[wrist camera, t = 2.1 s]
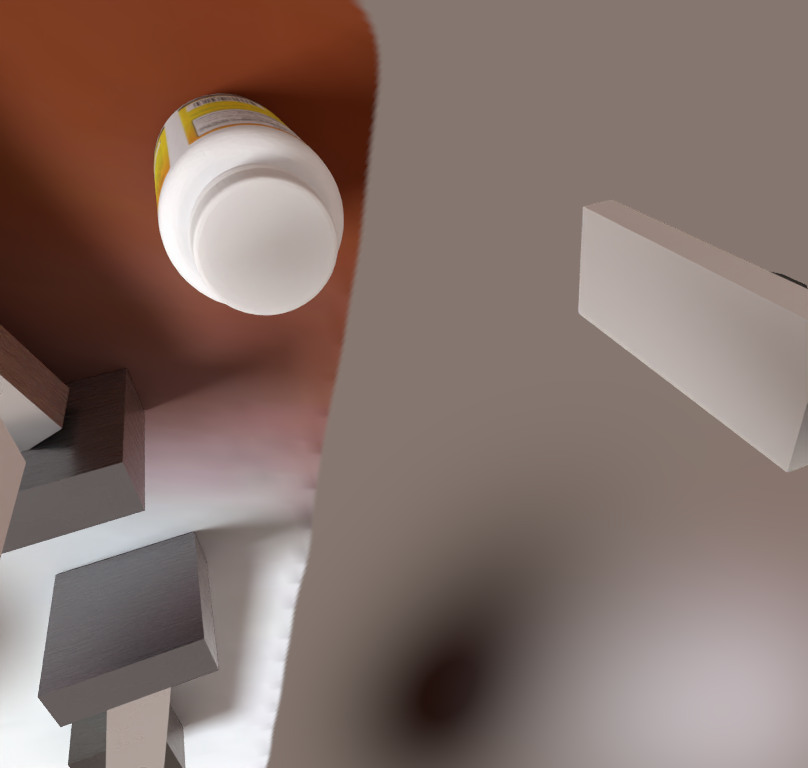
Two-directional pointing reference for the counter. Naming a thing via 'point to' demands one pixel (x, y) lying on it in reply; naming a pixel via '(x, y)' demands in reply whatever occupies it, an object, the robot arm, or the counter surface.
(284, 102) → the counter surface
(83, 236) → the counter surface
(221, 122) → the supplement bottle
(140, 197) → the counter surface
